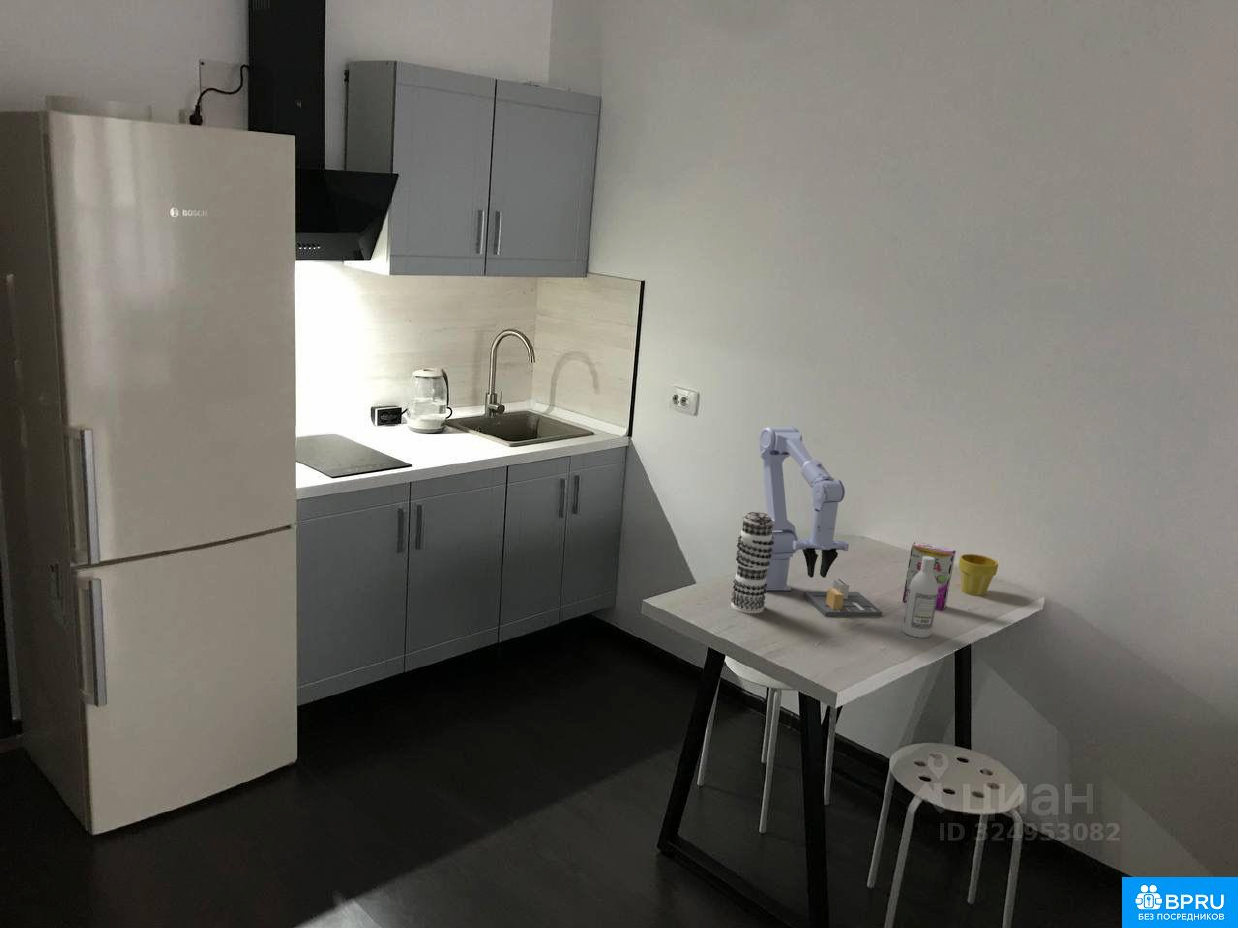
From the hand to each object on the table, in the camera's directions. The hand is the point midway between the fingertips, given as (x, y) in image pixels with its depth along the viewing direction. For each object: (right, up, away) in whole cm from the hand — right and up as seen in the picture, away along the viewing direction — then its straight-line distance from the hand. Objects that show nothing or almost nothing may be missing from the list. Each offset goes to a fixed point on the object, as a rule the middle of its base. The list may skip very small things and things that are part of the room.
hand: (816, 576), depth 267 cm
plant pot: (+51, -8, +29) cm, 59 cm away
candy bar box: (+32, -9, +15) cm, 37 cm away
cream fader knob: (+8, -7, +11) cm, 16 cm away
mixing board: (+8, -9, +8) cm, 14 cm away
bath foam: (+24, -14, -7) cm, 28 cm away
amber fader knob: (+5, -8, +3) cm, 10 cm away
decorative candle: (-18, -8, 0) cm, 20 cm away
